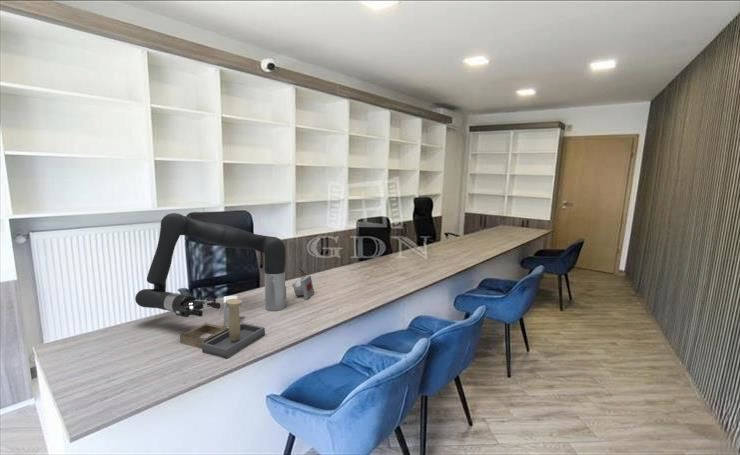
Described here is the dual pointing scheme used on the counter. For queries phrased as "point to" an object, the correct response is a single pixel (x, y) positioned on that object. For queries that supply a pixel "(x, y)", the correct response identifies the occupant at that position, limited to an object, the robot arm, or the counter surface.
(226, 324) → the small box
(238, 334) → the handle
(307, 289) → the voltmeter
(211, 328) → the socket collar
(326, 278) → the counter surface
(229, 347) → the tray
